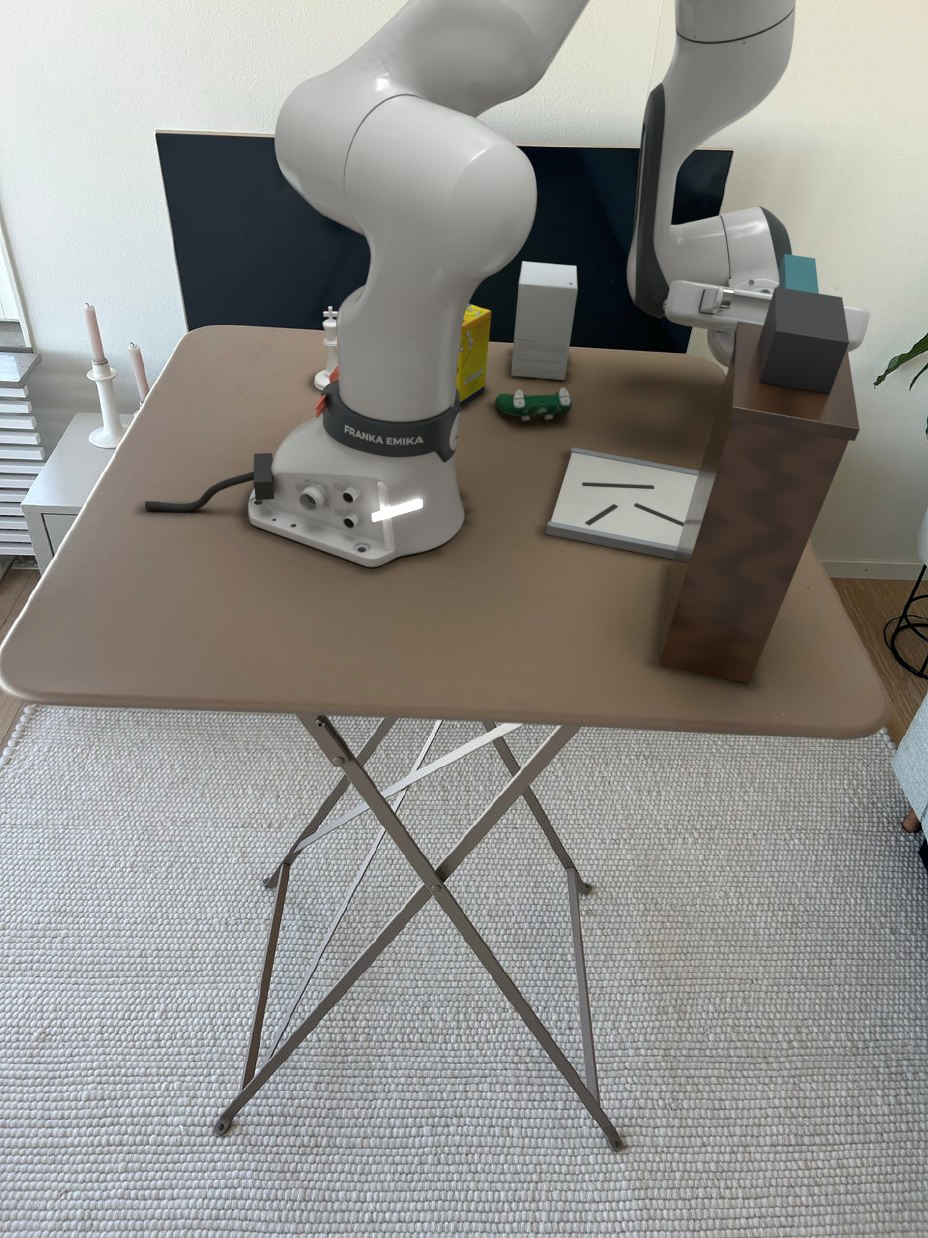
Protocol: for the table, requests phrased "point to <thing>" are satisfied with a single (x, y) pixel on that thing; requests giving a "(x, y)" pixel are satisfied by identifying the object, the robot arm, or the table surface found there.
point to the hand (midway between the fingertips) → (773, 304)
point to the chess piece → (331, 342)
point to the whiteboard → (623, 503)
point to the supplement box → (473, 353)
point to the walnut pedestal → (751, 512)
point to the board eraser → (802, 331)
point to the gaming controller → (534, 404)
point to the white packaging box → (544, 320)
